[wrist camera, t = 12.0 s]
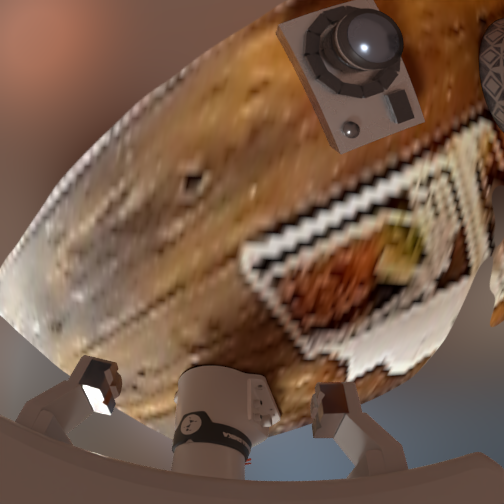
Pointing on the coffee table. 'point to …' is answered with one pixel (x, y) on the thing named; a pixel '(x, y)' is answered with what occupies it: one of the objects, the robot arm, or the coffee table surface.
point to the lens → (363, 42)
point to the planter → (493, 70)
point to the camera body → (348, 84)
